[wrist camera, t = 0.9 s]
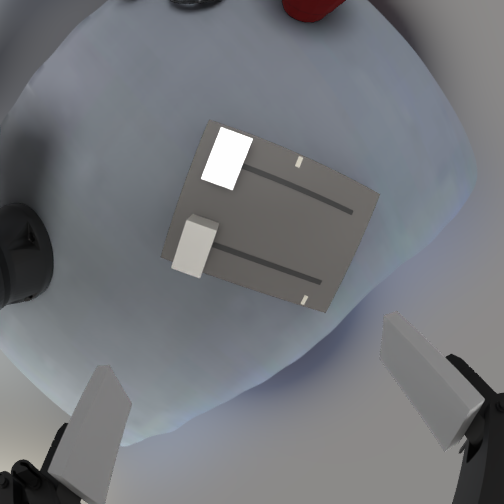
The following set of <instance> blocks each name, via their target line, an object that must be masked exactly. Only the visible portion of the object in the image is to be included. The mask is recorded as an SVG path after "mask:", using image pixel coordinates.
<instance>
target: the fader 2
mask: <svg viewBox="0 0 504 504" xmlns="http://www.w3.org/2000/svg"><path fill="white" fill-rule="evenodd" d="M252 140H253V139H252V138H249V137H246V136H244V135H241V134H238V133H235V132H233V131H230V130H227V129H224V128H221V130H220V132H219V134H218V137H217V139H216V142H215V144H214V147H213V149H212V152H211V154H210V157H209V159H208V162H207V165H206V167H205V170H204V172H203V175H202V178H201V179H203V180H206V181H209V182H212V183H215V184H217V185H220V186H223V187H226V188H228V189H231V190H233V187H234V185H235V182H236V179H237V177H238V174H239V172H240V169H241V167H242V164H243V162H244V159H245V157H246V154H247V152H248V149H249V147H250V144H251V142H252Z"/></svg>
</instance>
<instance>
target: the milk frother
mask: <svg viewBox="0 0 504 504" xmlns="http://www.w3.org/2000/svg"><path fill="white" fill-rule="evenodd" d="M170 1H172V2H175V3H182V4H194V3H203V2H209V1H213V0H170Z"/></svg>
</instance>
